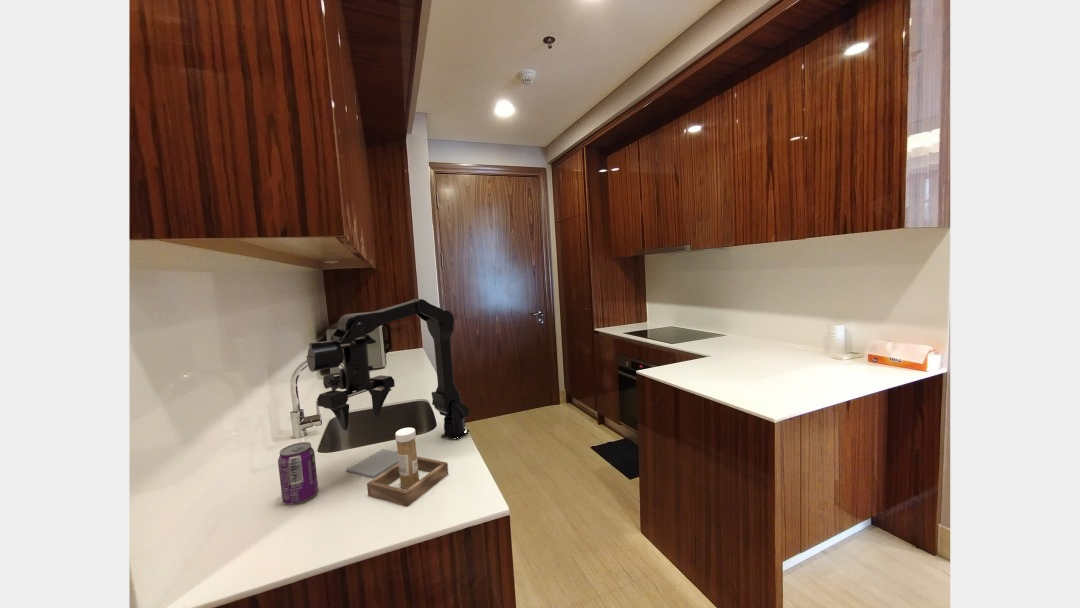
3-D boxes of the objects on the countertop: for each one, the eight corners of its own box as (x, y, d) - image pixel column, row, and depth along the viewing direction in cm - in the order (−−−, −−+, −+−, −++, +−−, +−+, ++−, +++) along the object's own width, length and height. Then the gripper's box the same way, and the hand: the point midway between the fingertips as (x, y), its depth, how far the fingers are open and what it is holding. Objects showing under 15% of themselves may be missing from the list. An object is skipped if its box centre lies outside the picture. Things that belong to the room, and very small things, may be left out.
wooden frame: (412, 466, 99) (411, 455, 98) (448, 473, 94) (447, 462, 93) (368, 495, 86) (366, 483, 86) (407, 506, 81) (406, 493, 81)
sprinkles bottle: (423, 483, 90) (418, 430, 89) (404, 492, 87) (399, 436, 86) (414, 477, 93) (410, 425, 92) (396, 484, 90) (391, 431, 89)
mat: (382, 450, 109) (382, 448, 108) (408, 456, 104) (408, 454, 104) (346, 471, 98) (346, 469, 98) (373, 478, 94) (373, 476, 93)
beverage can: (325, 490, 89) (320, 442, 88) (299, 508, 82) (293, 456, 82) (302, 487, 91) (297, 440, 90) (274, 504, 84) (269, 454, 83)
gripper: (365, 354, 106) (369, 407, 107) (299, 370, 89) (305, 433, 90) (394, 356, 102) (398, 411, 103) (330, 373, 85) (335, 439, 86)
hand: (361, 423), depth 95 cm, fingers open, 9 cm apart
